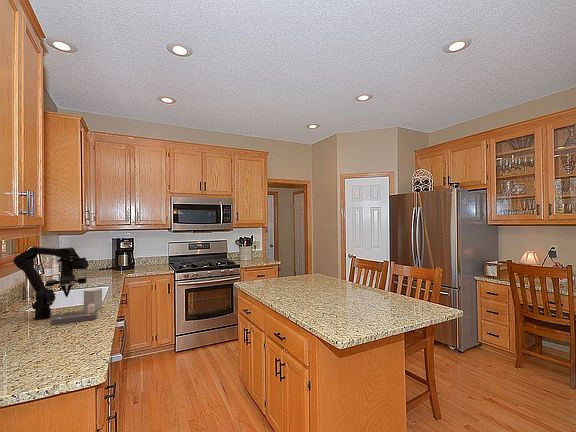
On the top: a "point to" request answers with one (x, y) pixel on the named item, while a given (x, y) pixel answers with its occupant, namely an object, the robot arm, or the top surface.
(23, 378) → the top surface
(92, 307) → the fader
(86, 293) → the supplement box
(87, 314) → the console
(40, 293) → the robot arm
